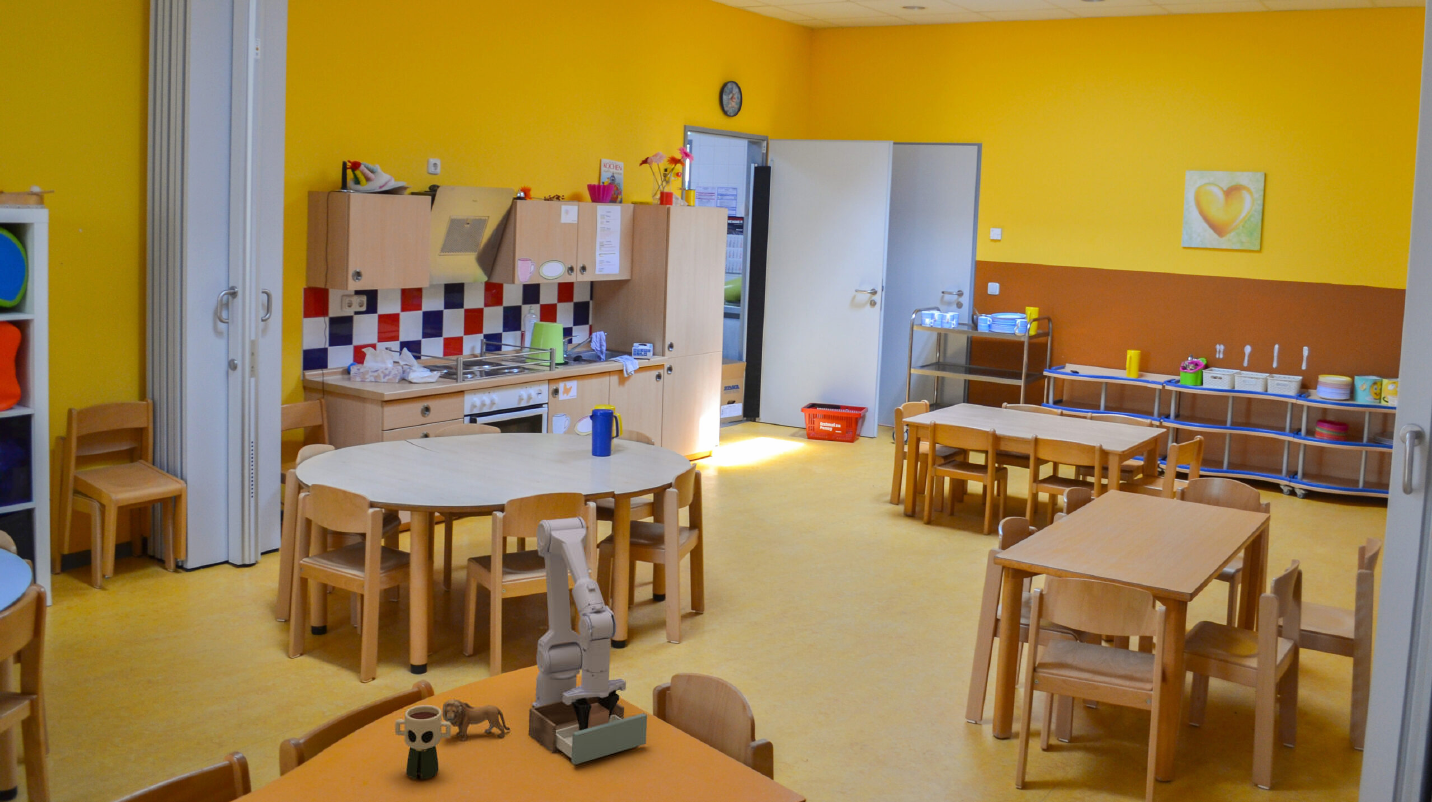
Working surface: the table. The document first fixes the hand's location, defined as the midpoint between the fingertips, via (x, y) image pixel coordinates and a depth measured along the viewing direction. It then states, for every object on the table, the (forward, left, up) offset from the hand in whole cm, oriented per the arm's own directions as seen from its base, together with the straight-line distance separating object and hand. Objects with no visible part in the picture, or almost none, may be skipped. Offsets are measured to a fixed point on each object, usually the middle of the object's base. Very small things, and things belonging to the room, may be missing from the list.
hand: (593, 728), depth 249 cm
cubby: (-6, 0, -4) cm, 8 cm away
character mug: (-7, -35, -4) cm, 36 cm away
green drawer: (+2, 0, -3) cm, 3 cm away
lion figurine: (-16, -19, -4) cm, 26 cm away
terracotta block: (0, 0, -2) cm, 2 cm away
